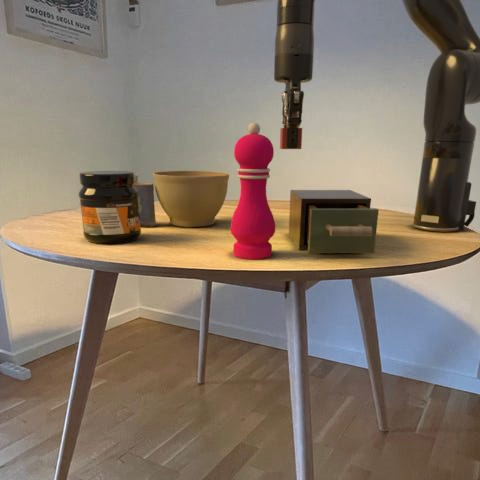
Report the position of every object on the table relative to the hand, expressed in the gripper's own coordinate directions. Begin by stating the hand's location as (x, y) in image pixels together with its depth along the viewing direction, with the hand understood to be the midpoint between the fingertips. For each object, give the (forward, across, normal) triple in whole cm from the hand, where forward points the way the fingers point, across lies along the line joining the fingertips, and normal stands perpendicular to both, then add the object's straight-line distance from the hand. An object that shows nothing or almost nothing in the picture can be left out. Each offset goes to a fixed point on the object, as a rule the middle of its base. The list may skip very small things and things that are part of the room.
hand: (290, 147), depth 97 cm
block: (0, 0, 0) cm, 0 cm away
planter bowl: (+16, -1, -21) cm, 27 cm away
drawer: (+15, +27, +5) cm, 31 cm away
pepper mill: (+16, +28, -9) cm, 34 cm away
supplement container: (+16, +15, -35) cm, 41 cm away
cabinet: (+16, +18, +5) cm, 24 cm away
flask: (+16, 0, -33) cm, 37 cm away
